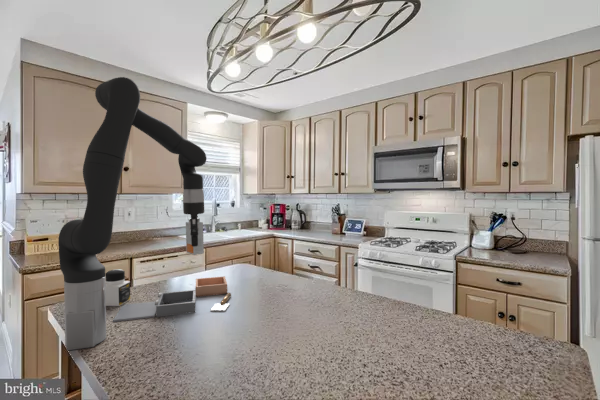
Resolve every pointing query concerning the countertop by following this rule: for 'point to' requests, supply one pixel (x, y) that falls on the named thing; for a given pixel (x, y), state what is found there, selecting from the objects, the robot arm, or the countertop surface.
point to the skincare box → (189, 247)
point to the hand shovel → (221, 305)
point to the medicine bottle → (117, 288)
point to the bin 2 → (211, 286)
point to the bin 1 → (159, 306)
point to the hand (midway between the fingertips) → (194, 244)
